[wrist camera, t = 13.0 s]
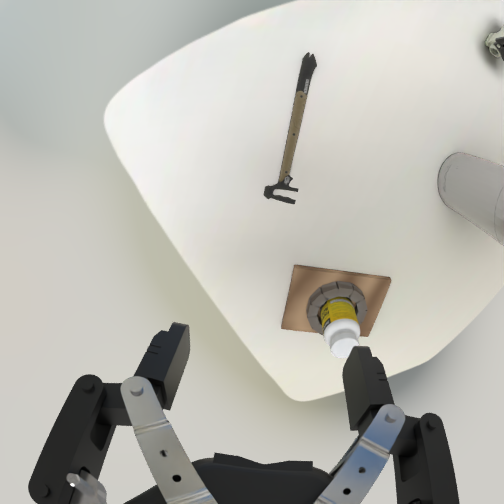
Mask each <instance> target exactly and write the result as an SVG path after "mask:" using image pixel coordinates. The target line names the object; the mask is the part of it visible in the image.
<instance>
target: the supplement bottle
mask: <svg viewBox="0 0 504 504" xmlns="http://www.w3.org/2000/svg"><path fill="white" fill-rule="evenodd" d="M320 314H321V321H322V328H323V335H324V339H325V342H326V343H327V344H328V345H329V346H330V349H331V353H332V355H333V356H335V357H337V358H347V357H349V354H350V352H351V350H352V348H353V347H354V346H359V342H358V338H359V336H360V327H359V323H358V320H357V317H356V313H355V310H354V307H353V303H352V301H351V299H350V298H348V297H339V296H338V297H335V298H332V299H329V300H327V301H326V302H325V303H324V304H323V305H321V306H320Z"/></svg>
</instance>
